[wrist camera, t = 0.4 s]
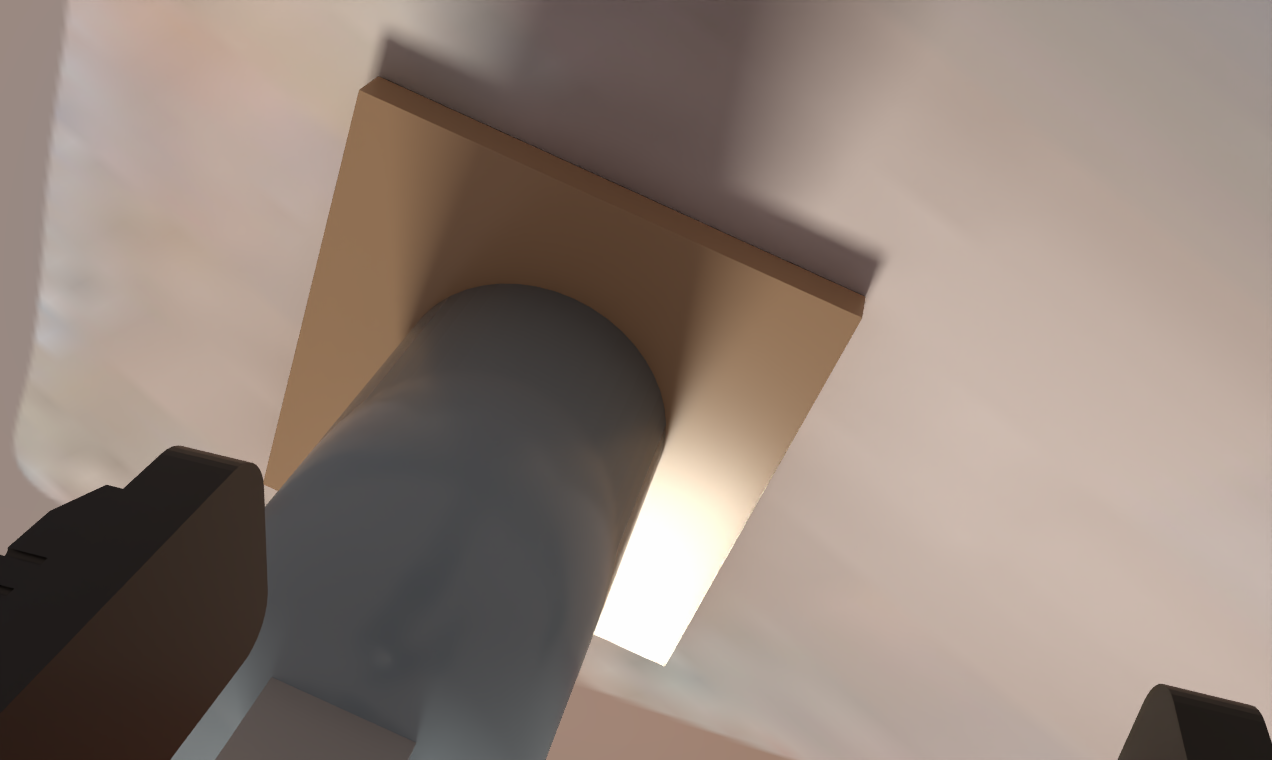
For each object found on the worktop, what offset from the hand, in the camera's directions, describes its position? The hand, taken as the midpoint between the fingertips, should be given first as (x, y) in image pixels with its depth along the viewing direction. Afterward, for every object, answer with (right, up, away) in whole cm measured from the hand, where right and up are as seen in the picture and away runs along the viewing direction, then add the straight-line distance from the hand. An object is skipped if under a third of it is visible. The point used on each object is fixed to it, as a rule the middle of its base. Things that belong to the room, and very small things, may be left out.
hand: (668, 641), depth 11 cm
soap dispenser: (-3, +2, +25) cm, 25 cm away
